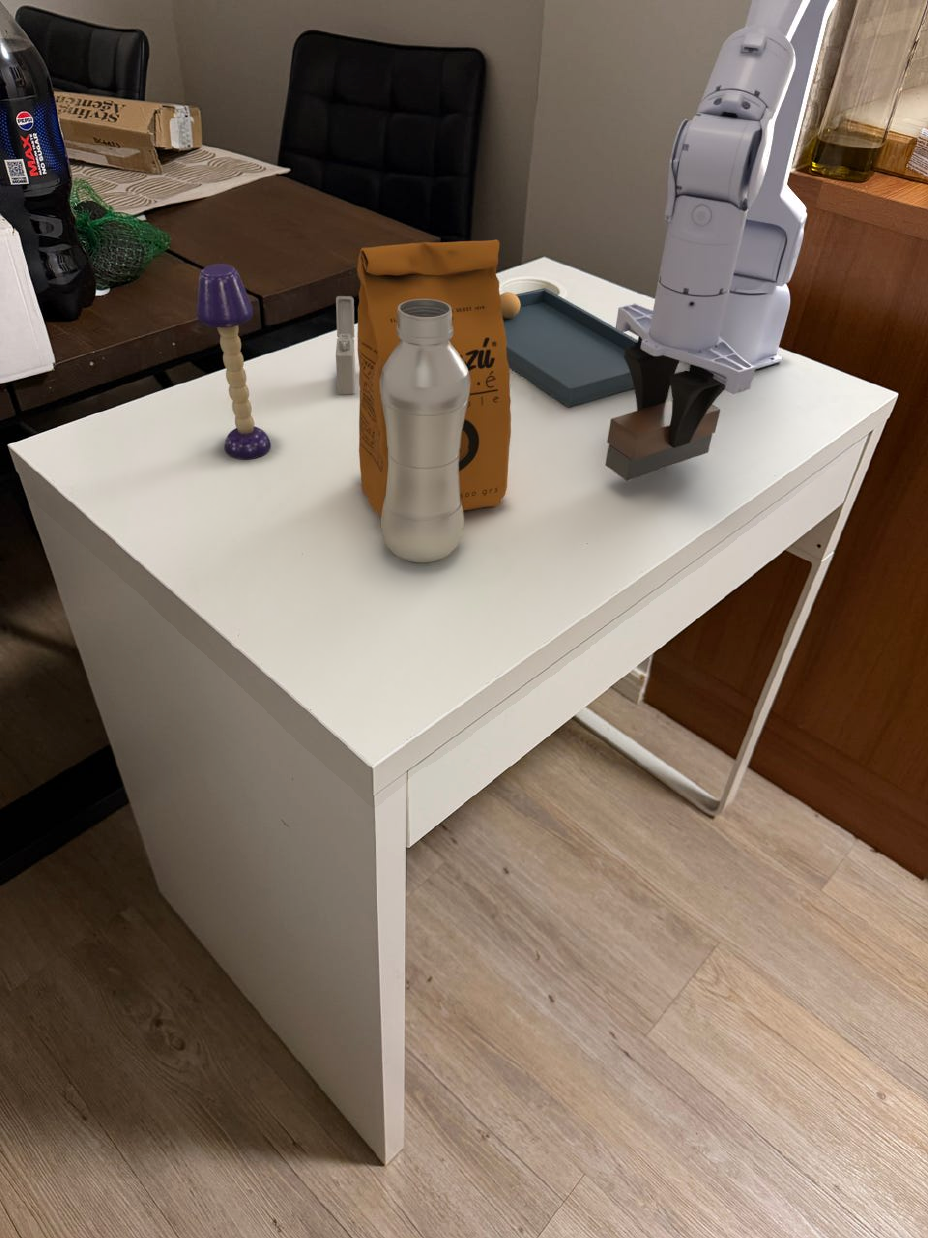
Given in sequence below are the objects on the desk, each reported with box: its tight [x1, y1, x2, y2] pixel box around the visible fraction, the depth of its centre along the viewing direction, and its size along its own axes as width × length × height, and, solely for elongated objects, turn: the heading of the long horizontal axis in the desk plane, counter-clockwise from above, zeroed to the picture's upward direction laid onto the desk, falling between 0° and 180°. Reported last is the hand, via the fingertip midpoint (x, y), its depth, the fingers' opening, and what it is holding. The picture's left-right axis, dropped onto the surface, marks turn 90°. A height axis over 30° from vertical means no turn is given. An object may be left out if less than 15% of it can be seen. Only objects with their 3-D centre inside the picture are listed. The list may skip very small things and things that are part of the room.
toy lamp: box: [196, 263, 272, 460], centre depth 81 cm, size 5×5×17 cm
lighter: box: [335, 295, 356, 395], centre depth 95 cm, size 7×2×8 cm, turn 4°
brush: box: [604, 399, 721, 481], centre depth 83 cm, size 10×4×5 cm, turn 123°
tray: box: [503, 287, 638, 408], centre depth 105 cm, size 14×23×2 cm, turn 33°
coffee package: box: [356, 239, 512, 518], centre depth 74 cm, size 10×12×22 cm
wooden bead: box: [500, 291, 521, 319], centre depth 109 cm, size 3×3×3 cm
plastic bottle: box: [379, 299, 471, 563], centre depth 69 cm, size 6×7×20 cm
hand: (663, 433), depth 83 cm, fingers closed on brush, 3 cm apart
